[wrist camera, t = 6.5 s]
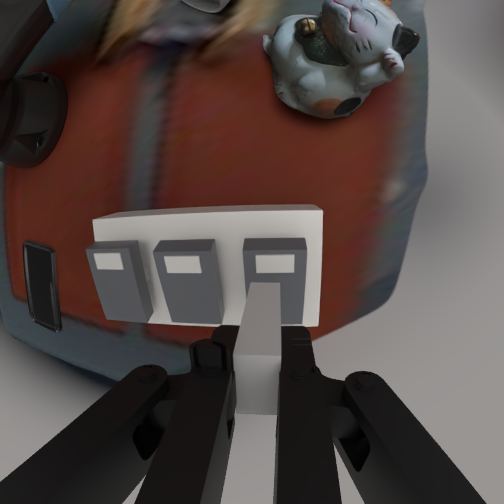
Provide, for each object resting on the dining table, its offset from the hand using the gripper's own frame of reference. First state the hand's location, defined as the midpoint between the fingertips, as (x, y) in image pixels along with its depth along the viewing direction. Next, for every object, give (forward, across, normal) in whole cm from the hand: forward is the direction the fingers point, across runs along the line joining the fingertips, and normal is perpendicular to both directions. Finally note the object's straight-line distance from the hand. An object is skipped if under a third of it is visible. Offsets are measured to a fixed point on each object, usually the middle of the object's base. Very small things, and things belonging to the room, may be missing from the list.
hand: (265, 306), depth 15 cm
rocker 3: (+10, 0, -2) cm, 10 cm away
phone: (+19, -37, -8) cm, 42 cm away
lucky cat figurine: (+19, +6, +21) cm, 29 cm away
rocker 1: (+10, -14, -3) cm, 18 cm away
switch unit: (+19, -7, -2) cm, 20 cm away
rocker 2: (+11, -7, -2) cm, 13 cm away
